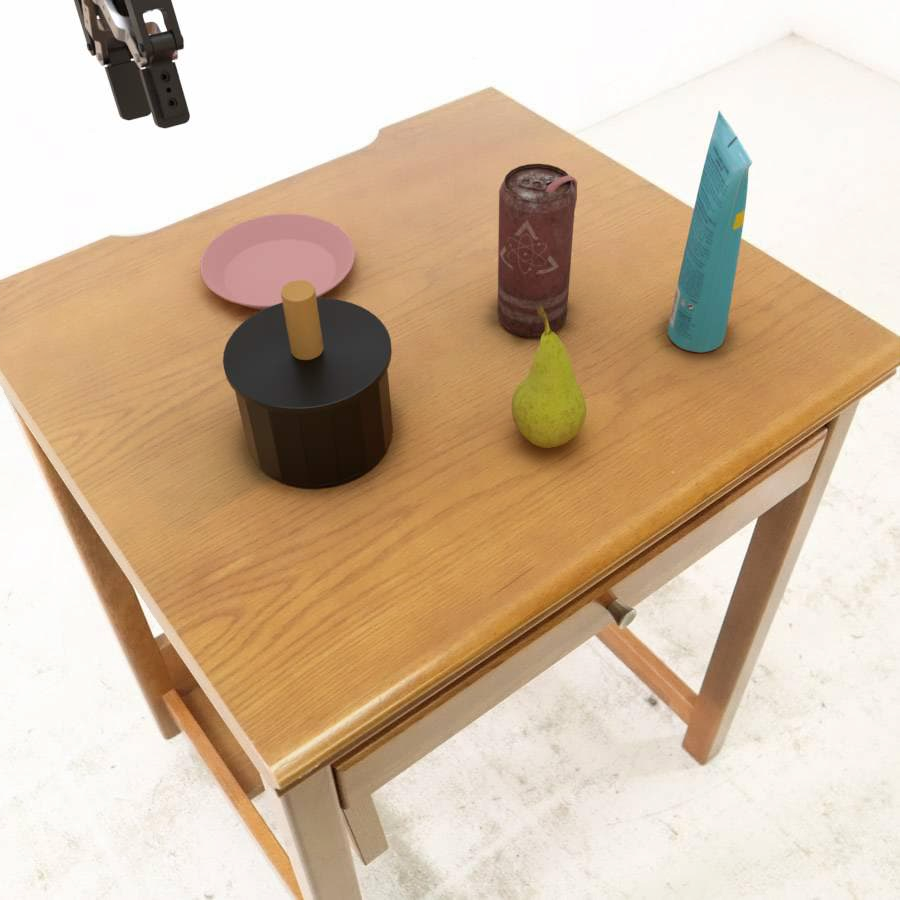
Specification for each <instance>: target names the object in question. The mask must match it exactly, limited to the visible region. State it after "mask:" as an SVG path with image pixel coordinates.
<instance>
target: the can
mask: <svg viewBox="0 0 900 900" xmlns="http://www.w3.org/2000/svg"><path fill="white" fill-rule="evenodd" d="M577 201H578V181H577V180H576V178H575V177H574V176H572V175H570V174H568V173H567V171H566V170H564V169H561V168H560V167H559V166H555V165H551V164H546V163H527V164H524V165H520V166H516V167H515V168H513V169H511V170H510V171H509V172H508V173H507V174H506V175H505V177H504V179H503V181H502V182H501V184H500V187H499V189H498V246H497V247H498V248H497V249H498V251H497V253H498V254H497V257H498V258H497V265H498V266H497V316H498V320H499V321H500V323H501V324H502V325H503V327H504V328H505V329H506V330H507V331H509V332H510V333H512V334H514V335H516V336H518V337H522V338H528V339H534V338H535V339H536V338H541V336H542V334H543V333H544V331H545V324H544V320H543V318H542V317H541V316H540V315H539V313H538V312H537V307H538V306H542V307H543V310H544V312H545V314H546V316H547V320H548V324H549V328H550V331H552V332H554V333H555V332H557V331H558V330H559V329H560V328H561V326H562V325H563V324H564V323H565V322H566V319H567V316H568V307H569V291H570V279H571V278H570V277H571V266H572V251H573V240H574V239H573V238H574V223H575V211H576V206H577Z"/></svg>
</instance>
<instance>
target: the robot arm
mask: <svg viewBox="0 0 900 900" xmlns="http://www.w3.org/2000/svg"><path fill="white" fill-rule="evenodd" d="M73 2H74V5H75V10H76V12H77V17H78V19H79V22H80V25H81V28H82V32H83V35H84V38H85V42H86V49H87V51H88V52H89V53H90V55H91V56H92V57H95V58H96V61H98V63H99V64H100V66H101V67H104V70H105V73H106V76H107V80H108V84H109V87H110V90H111V93H112V96H113V99H114V102H115V105H116V108H117V109H116V110H117V112H118V115H119V117H120V118H121V119H122V120H125V121H134V120H137V119H141V118H145V117H148V116H150V115H151V116H152V120H153V122H154V125H155V126H156V127H158V128H159V129H169V128H170V129H171V128H173V127H177V126H180V125H184V124H187V123H188V122H189V121H190V118H191V114H190V110H189V107H188V103H187V99H186V96H185V93H184V88H183V85H182V82H181V78H180V75H179V71H178V68H177V65H176V62H175V61H177V60H178V58H179V53H178V52H179V51H181V50H184V48H185V41H184V36H183V34H182V31H181V29H180V24H179V22H178V21H179V20H178V19H177V14H176V10H175V7H174V4H173V1H172V0H73Z"/></svg>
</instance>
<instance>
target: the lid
mask: <svg viewBox="0 0 900 900" xmlns="http://www.w3.org/2000/svg"><path fill="white" fill-rule="evenodd" d="M281 297H282V303H279V304H276V305H273V306H270V307H268V308H266V309H263V310H259V311H258V312H256V313H254V314H252V315H251V316H250V317H248V318H247V319H246V320H244V321H243V322H242V323H241V324H239V325H238V327H237V328H235V330H234V331H233V332H232V334H231V335H230V336H229V338H228V340H227V342H226V344H225V346H224V351H223V354H222V356H223V357H222V365H223V370H224V374H225V377H226V380H227V382H228V384H229V385H230V387H231V388H232V389H233V391H234V393H235V392H236V393H237V394H238V395H240V396H241V397H242V398H243V399H245V400H246V401H248V402H250V403H251V404H253V405H256V406H258V407H260V408H263V409H266V410H269V411H274V412H279V413H288V414H309V413H317V412H323V411H328V410H331V409H335V408H338V407H341V406H344V405H346V404H349V403H351V402H353V401H355V400H357V399H358V398H360V397H362V396H363V395H365V394H366V393H367V392H369V391H370V390H371V389H372V388H374V387H375V386H376V385H377V384H378V382H379V381H380V380H381V379H382V377H383V376H384V375H385V373H386V371H387V370H388V369H389V367H390V364H391V361H392V353H393V350H392V339H391V336H390V333H389V331H388V329H387V327H386V326H385V324H384V323H383V322H382V321H381V319H380V318H379V317H377V316H376V315H375V314H374V313H372V312H371V311H370V310H368V309H367V308H365V307H363V306H361V305H358V304H355V303H353V302H350V301H346V300H343V299H337V298H332V297H331V298H329V297H319V298H316V292H315V287H314V286H313V284H311V283H310V282H308V281H304V280H296V281H292V282H289V283H287V284H286V285H284V286H283V288H282V290H281ZM236 393H235V394H236Z"/></svg>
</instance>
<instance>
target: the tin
mask: <svg viewBox="0 0 900 900" xmlns="http://www.w3.org/2000/svg"><path fill="white" fill-rule="evenodd" d="M390 392H391V391H390V383H389V371H388V369H387V371H386V373H385V375H384V376H383V377H382V379H381V380H380V381H379V382H378V384H377V385H376V386H375V387H374V388H372V389H371V390H370V391H369V392H367V393H366V394H365V395H363V396H362V397H360V398H358V399H357V400H355V401H353V402H351V403H349V404H346V405H344V406H341V407H338V408H335V409H331V410H328V411H323V412H317V413H309V414H288V413H279V412H274V411H269V410H266V409H263V408H260V407H258V406H256V405H253V404H251V403H250V402H248V401H246V400H245V399H243V398H242V397H241V396H240V395H238V394H237V393H236V392H235V391H234V394H235V397H236V402H237V405H238V410H239V413H240V419H241V423H242V427H243V431H244V435H245V436H244V437H245V440H246V444H247V449H248V452H249V454H250V455H251V458H252V460H253V462H254V463H255V465H256V466H257V467H258V469H259V470H261V472H262V473H264V475H266V477H269V478H270V479H272V480H274V481H275V482H277V483H280V484H282V485H285V486H289V487H291V488H297V489H304V490H320V489H330V488H335V487H339V486H340V487H341V486H343V485H346V484H349V483H351V482H354V481H356V480H358V479H360V478H362V477H363V476H365V475H366V474H368V473H369V472H371V471H372V470H373V469H374V468H375V467H377V466H378V464H380V462H381V461H382V460H383V459H384V457H385V456H386V455H387V453H388V450H390V446H391V443H392V439H393V434H394V433H393V432H394V428H393V427H394V425H393V417H392V407H391V406H392V404H391V393H390Z"/></svg>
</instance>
